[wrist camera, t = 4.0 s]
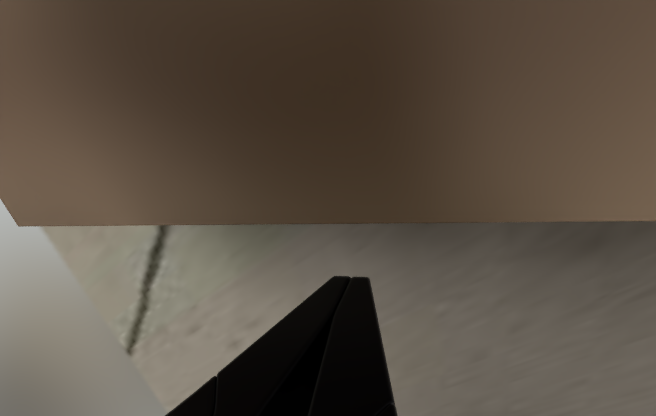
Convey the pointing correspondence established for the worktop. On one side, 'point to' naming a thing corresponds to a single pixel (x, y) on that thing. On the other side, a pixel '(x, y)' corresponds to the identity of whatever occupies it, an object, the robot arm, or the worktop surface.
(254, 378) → the robot arm
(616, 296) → the worktop surface
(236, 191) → the brown box
